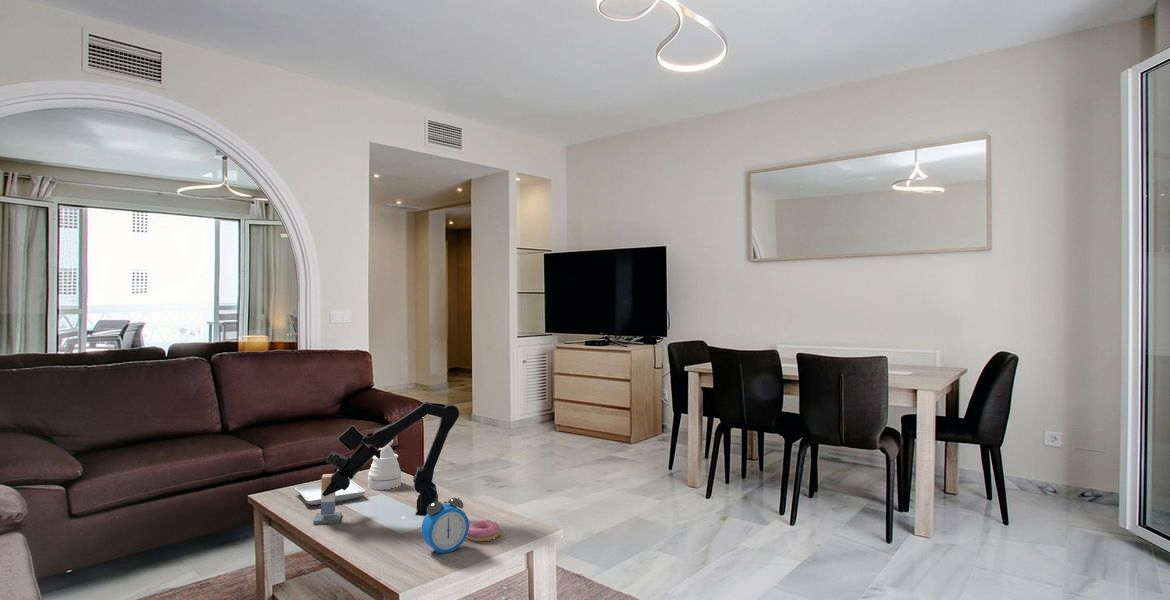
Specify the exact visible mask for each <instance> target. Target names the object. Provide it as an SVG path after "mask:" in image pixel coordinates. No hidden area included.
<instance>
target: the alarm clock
mask: <svg viewBox="0 0 1170 600" xmlns="http://www.w3.org/2000/svg"><path fill="white" fill-rule="evenodd" d="M464 505H465V504H464V501H462V500H461V499H460V497H451V498H450V499H449V500H448V501H443V503H442V502H441V501H439V500H438V501H435V502H432V503H431V504H430V505H429V506H428V508H427V514H426V515H424V518H423V520H422V523H421V528H420V529H421V530H420V531H421V537H422V539H423V541H424V542H425V544H426V545H427V546H429V547H430V548H432V549H433V550H434V551H436V552H437V553H436V556H438V555H439V554H440V553H443V554H445V553H452V552H454V551H455V550H456V549H457V550H458V549H459V550H460V547H461V545H463V543H464V542H465V540H466V539H467V538H468V537H467V534H468V531H469V524H470V522H469V518H468V516H467V514H466V513H465V512H464V511H463V509H464Z"/></svg>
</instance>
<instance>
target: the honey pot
mask: <svg viewBox="0 0 1170 600" xmlns="http://www.w3.org/2000/svg"><path fill="white" fill-rule="evenodd" d="M393 443H394V439H393V440H392V441H390V442H389V443H388V444H387V445H386V446H385V447H383V448H378V450H380V449H381V452H380V455H381V456H380V459H378V458H377V457H376V456H374V457H373V458H372V460H373V461H372V463H371V464H370V468H369V471H368V474H367V475H368V476H367V488H368V489H370V488H371V490H375V489H377V490H376V491H378V490H379V491H382V490H384V489H386V490H392V489H391V488H393V489H396V488H398V486H399V487H400V486H401V485H402V469H400V464H399V461H398V458H399V455H398V454H397V453H395V451H394V450H393V448H392V447H391V446H392V444H393ZM395 487H396V488H395Z"/></svg>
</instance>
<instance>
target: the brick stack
mask: <svg viewBox="0 0 1170 600" xmlns="http://www.w3.org/2000/svg"><path fill="white" fill-rule="evenodd" d="M333 474H334V473H323V474H322V475H321V482H320V483H321V505H320V513H321V515H329V514H334V512H336V502H335V492H334V493H331V494H329V495H327V496H323V495H322V494H323V492H324V491H325V490H326V488H327V487H328V485H329V484H330V483H331V476H332V475H333Z"/></svg>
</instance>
